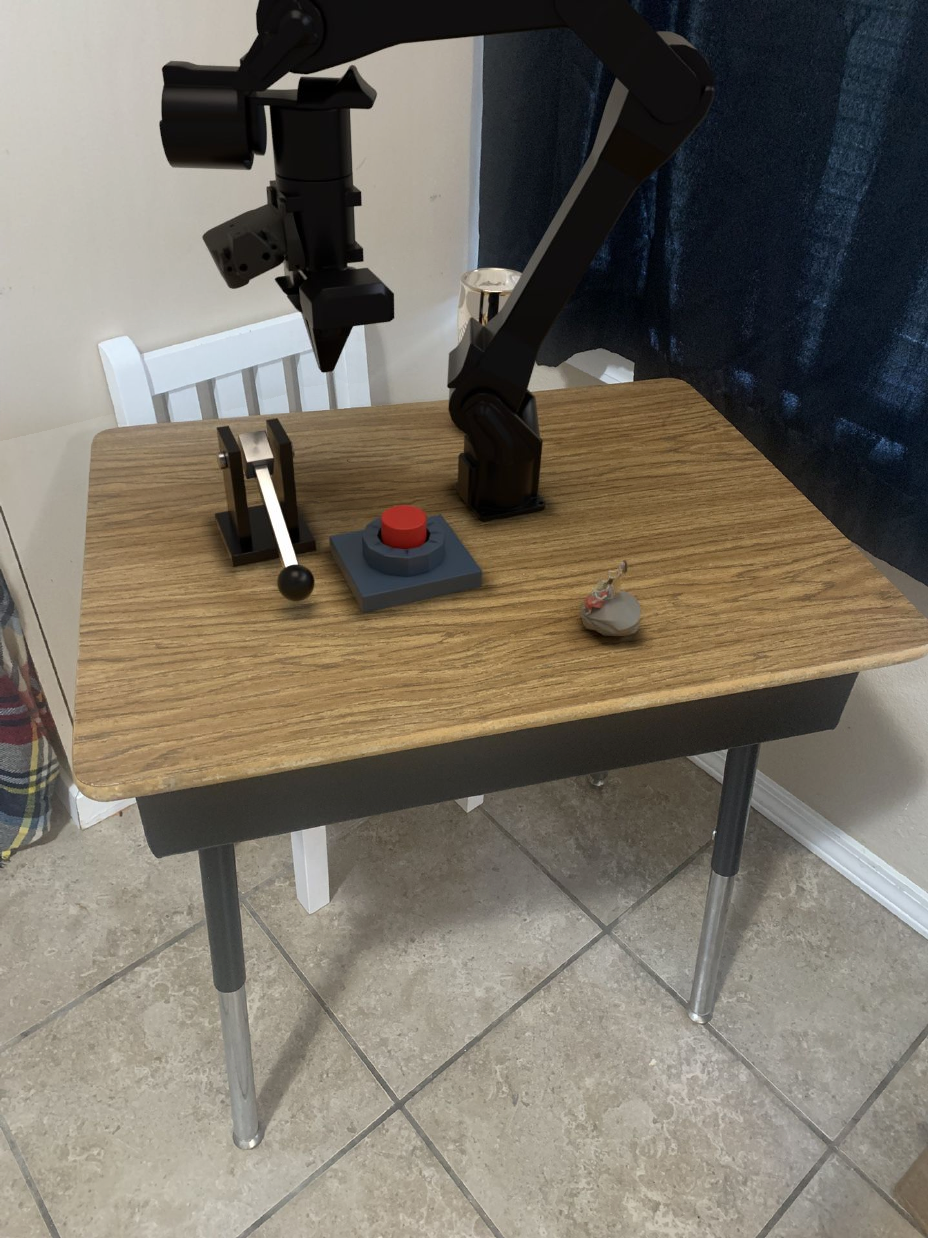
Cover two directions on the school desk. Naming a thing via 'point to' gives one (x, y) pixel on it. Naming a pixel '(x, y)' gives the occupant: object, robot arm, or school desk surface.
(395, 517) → the red button
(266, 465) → the lever handle
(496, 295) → the silver metal tumbler
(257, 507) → the lever bracket
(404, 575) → the button block
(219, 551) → the school desk surface
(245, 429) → the school desk surface
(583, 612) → the figurine
